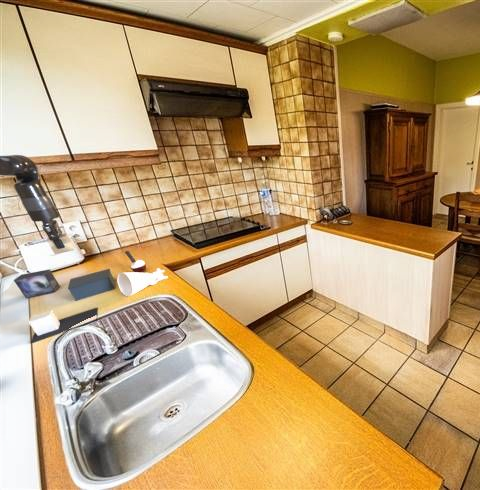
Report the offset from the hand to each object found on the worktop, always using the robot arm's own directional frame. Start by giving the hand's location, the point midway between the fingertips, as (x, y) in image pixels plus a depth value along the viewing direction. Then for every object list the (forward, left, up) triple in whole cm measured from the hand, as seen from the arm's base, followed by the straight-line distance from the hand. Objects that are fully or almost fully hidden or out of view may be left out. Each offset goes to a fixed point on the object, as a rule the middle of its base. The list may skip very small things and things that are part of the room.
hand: (62, 246), depth 112 cm
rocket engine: (+21, -6, -28) cm, 35 cm away
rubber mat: (-7, -17, -27) cm, 33 cm away
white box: (-12, -17, -27) cm, 34 cm away
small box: (-19, +29, -28) cm, 44 cm away
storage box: (+1, +11, -27) cm, 30 cm away
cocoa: (+19, +19, -28) cm, 39 cm away
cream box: (0, 0, -2) cm, 2 cm away
